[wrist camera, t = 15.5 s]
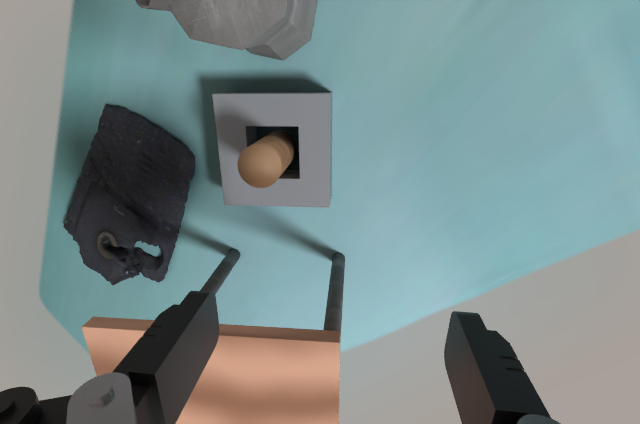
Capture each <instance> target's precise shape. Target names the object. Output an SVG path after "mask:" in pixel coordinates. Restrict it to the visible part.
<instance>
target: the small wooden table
mask: <svg viewBox="0 0 640 424" xmlns="http://www.w3.org/2000/svg"><path fill="white" fill-rule="evenodd" d="M239 257H240V252H239V251H238V250H236V249H231V250H230V251H229V252H228V253H227V255H226V256H225V258H224V259H223V260H222V262H221V263H220V264H219V266H218V267H217V268H216V270H215V271H214V272H213V274H212V275H211V277H210V278H209V279H208V281H207V282H206V283H205V285H204V286H203V287H202V289H201V290H200V291H201V292H213V293H214V294H216V293H217V291H218V290H219V288H220V287H221V285H222V283H223V282H224V280H225V279H226V277H227V276H228V274H229V273H230V271H231V270H232V268H233V267H234V265H235V264H236V262H237V260H238V259H239ZM344 267H345V256H344V255H343V254H341V253H336V254H334V256H333V259H332V267H331V275H330V283H329V291H328V299H327V307H326V315H325V323H324V330H311V329H294V328H277V327H260V326H243V325H226V324H219V338H218V342H217V345H216V347H215V349H214V351H213V353H212V355H211V357H210V359H209V361H208V362H207V364H206V366H205V368H204V370H203V372H202V374H201V376H200V378H199V380H198V382H197V383H196V385H195V387H194V389H193V391H192V393H191V395H190V397H189V399H188V401H187V403H186V405H185V406H184V408H183V410H182V412H181V414H180V416H179V418H178V420H177V422H176V424H339V378H340V337H341V320H342V302H343V284H344ZM154 321H155V320H140V319H123V318H106V317H92V318H91V319H90V320H89V321H88V322H87V323H86V324H85V325H83V326H82V329H83V333H84V336H85V339H86V342H87V346H88V349H89V352H90V355H91V358H92V362H93V365H94V368H95V372H96V374H97V376H99V375H102V374H106V373H112V372H113V370H114V369H115V368H116V367H117V366H118V364H119V363H120V362H121V361H122V359H123V358H124V357H125V356H126V355H127V353H128V352H129V351H130V350H131V349H132V347H133V346H134V345H135V344H136V342H137V341H138V340H139V339H140V338H141V337H143V334H144V333H145V332H146V330H147V329H148V328H149V327H151V324H152V323H153V322H154Z"/></svg>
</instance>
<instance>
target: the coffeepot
mask: <svg viewBox="0 0 640 424" xmlns="http://www.w3.org/2000/svg"><path fill="white" fill-rule="evenodd" d="M136 2H137V4H138V5H139V6H140V7H141V8H147V9H156V10H166V11H171V12H172V13H173V15H174V16H175V18H176V19H177V21H178V22H179V23H180V25H181V26H182V28H183V29H184V31H185V32H186V34H187V35H188V36H189V38H190V39H194V40H198V41H202V42H207V43H211V44H216V45H220V46H225V47H230V48H235V49H240V50H243V49H248V51H249V52H250V53H251V54H256V55H260V56H265V57H270V58H274V59H279V60H285V59H286V58H287V57H289V56H290V55H291V54H293V53H294V52H296V51H297V50H298V49H299V48H301V47H302V46H303V45H305V44H306V43H307V42H309V41H310V40H311V36H312V30H313V25H314V19H315V13H316V7H317V0H136Z"/></svg>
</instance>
